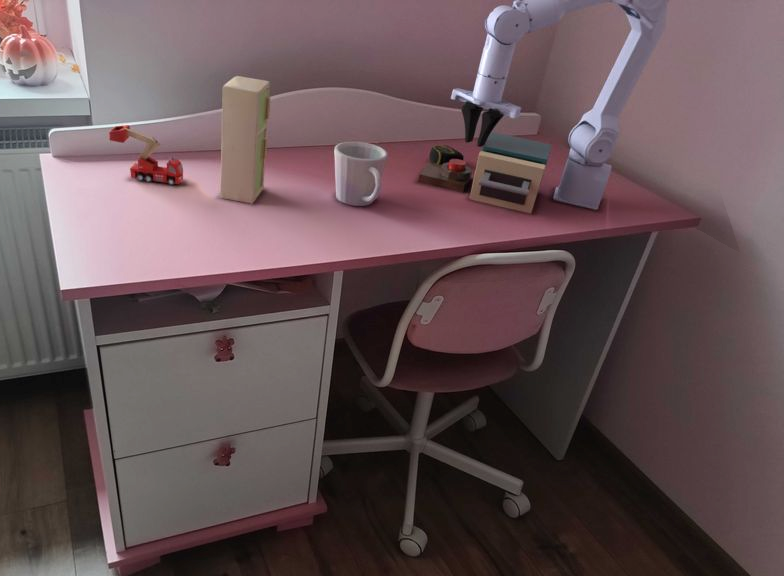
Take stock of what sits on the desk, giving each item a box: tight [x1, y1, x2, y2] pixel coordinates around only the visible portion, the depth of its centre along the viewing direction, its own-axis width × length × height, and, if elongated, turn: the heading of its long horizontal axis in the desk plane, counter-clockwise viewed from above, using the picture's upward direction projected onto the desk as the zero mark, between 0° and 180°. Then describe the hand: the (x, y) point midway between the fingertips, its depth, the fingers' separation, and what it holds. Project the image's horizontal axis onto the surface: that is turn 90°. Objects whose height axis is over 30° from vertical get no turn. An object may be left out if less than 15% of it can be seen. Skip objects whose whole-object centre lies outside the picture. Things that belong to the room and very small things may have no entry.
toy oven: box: [481, 131, 553, 204], centre depth 142 cm, size 11×13×11 cm
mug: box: [333, 141, 389, 207], centre depth 131 cm, size 10×15×10 cm
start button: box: [448, 159, 467, 172], centre depth 146 cm, size 4×4×2 cm
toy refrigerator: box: [220, 75, 271, 204], centre depth 125 cm, size 8×7×21 cm
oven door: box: [469, 150, 547, 214], centre depth 135 cm, size 5×13×11 cm, turn 69°
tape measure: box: [428, 144, 465, 165], centre depth 156 cm, size 7×7×4 cm
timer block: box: [417, 161, 473, 193], centre depth 148 cm, size 10×9×4 cm
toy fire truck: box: [108, 125, 184, 186], centre depth 130 cm, size 3×14×10 cm, turn 84°
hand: (474, 143), depth 138 cm, fingers closed
